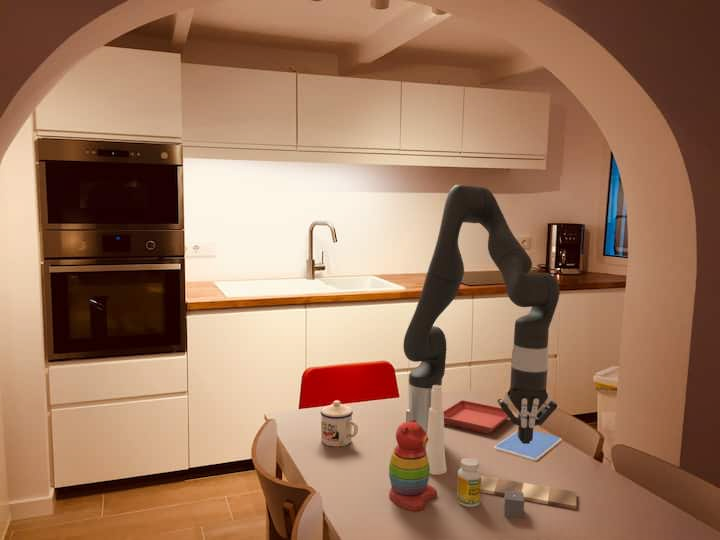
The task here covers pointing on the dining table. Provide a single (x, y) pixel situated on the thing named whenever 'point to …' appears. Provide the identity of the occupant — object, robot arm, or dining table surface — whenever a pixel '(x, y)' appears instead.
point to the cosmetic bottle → (436, 433)
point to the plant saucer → (475, 416)
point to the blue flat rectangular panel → (528, 445)
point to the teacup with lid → (337, 425)
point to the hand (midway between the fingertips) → (525, 442)
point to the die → (514, 504)
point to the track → (530, 492)
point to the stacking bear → (410, 468)
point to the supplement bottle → (469, 483)
